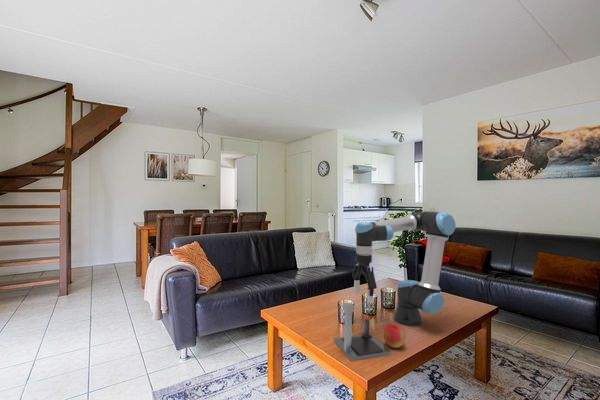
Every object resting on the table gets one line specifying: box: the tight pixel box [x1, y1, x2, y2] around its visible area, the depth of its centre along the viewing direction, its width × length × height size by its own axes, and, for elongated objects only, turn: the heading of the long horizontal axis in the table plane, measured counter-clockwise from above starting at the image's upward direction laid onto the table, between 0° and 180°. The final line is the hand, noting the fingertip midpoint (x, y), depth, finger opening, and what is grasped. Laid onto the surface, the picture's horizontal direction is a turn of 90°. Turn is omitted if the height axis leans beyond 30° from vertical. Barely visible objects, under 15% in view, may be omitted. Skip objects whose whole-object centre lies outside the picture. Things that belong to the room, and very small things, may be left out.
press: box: [333, 302, 392, 362], centre depth 140 cm, size 21×18×22 cm
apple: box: [383, 323, 406, 349], centre depth 142 cm, size 10×10×10 cm
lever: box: [360, 314, 372, 338], centre depth 148 cm, size 4×3×11 cm
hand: (363, 297), depth 144 cm, fingers open, 13 cm apart
